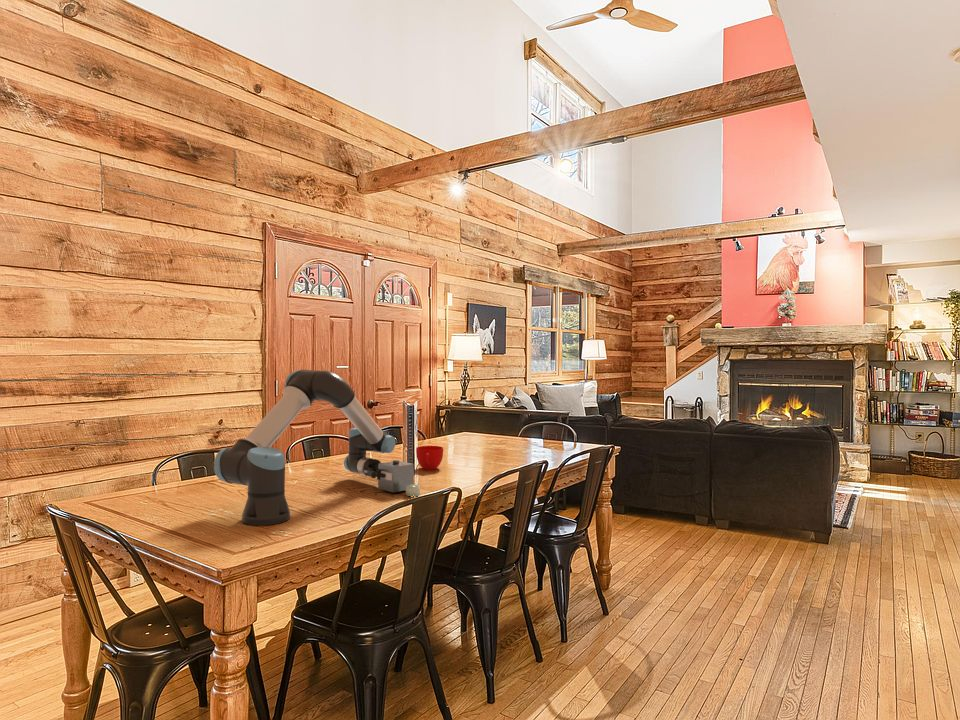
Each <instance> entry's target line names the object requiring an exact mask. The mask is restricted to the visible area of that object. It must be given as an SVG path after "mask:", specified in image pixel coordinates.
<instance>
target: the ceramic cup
mask: <svg viewBox="0 0 960 720" xmlns="http://www.w3.org/2000/svg"><path fill="white" fill-rule="evenodd" d="M415 451H416V458H417V462H418V465H419V466H420V467H421V468H422V470H425V471H434V470H436V469H438V467H439V466H440V465H441V463H442V462H443V461H442V460H443V456H444V447H443V446H441V445H440V446H439V445H420V446H417V447H416V450H415Z"/></svg>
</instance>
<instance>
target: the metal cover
mask: <svg viewBox="0 0 960 720" xmlns="http://www.w3.org/2000/svg"><path fill="white" fill-rule="evenodd" d="M414 467H415V466H414V463H410V462H406V461H401V460H397V459H395V460H391V461H388V462H381V463H379V464H378V470H379V471H380V473H381V471H384V472H388V473H392V480H391V481H390V480H386V479H383V478H381V477H380V480H377V482H378V483H377V488H378V490H379V489H380V490H383V491H387V492H389V493H398V492H402V491H406V485H414V477H413V470H414V469H415V468H414Z"/></svg>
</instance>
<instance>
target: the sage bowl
mask: <svg viewBox="0 0 960 720" xmlns="http://www.w3.org/2000/svg"><path fill="white" fill-rule="evenodd" d="M413 495H414V496H418V497H419V495H421V485H420V484H413V485H406V490H405V496H407V497H408V496H413Z"/></svg>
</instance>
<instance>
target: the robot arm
mask: <svg viewBox="0 0 960 720" xmlns="http://www.w3.org/2000/svg"><path fill="white" fill-rule="evenodd" d="M284 383H285V384H284V386H283V387H284V389H283V395H282V397H281V398H280V399H279V400H278V401H277V402H276V404H274V406H273V407H272V408H270V410H269V411H268V412H267V413H266V414H265V416H264V417H263V418H262V419H261V421H260V422H258V424H257V425H256V426H255V427H254V428H253V429H252V431H251V432H250V433H248V435H246V437H245V438H239V439H238V440H237V441H235V443H234V444H233V446H231V447H229V446H228V447H223V448H222V449H220V450H219V451H217V454H216V455H215V457H214V462H213V465H214V466H213V471H214V474H215V475H216V476H215V477H217V478H218V479H219V480H220V481H222V482H224V483H228V484H234V485H242V486H247V499H246V501H245V502H246V503H245V505H244V508H243V511H242V514H241V522H242V524H244V523H245V524H244V525H247V524H248V526H256V525H262V526H270V525H271V524H273V525H278V524H281V522H282V523H285V522H287V521H289V520H290V519H291V510H290V506H289V504H288V501H287V498H286V494H285V493H286V491H285V490H286V487H285V486H286V485H285V484H286V459H285V454H284V452H283V450H281V449H278V448H275V447H272V445H274V443H275V442H276V441H277V439H279V437H280V436H281V435H282V434H283V432H285V430H286V429H287V428H288V427H289V426H290V425H291V423H292V422H293V421H294V419H295V418H296V417H297V416H298V415H299V414H300V412H301V411H302V410H308V409H309V408H310V406H312V404H313V403H314V402H315V401H320V402H321V401H322V402H327V403H329V404H331V405H332V406H333V407H334V408H335V409H339V410H340V411H341V412H342V413H343V414H344V416H345V417H346V418H347V419H348V420H349V422H351V424H352V425H353V427H351V428H350V429H349V430H348V454H347V455H346V456H345V458H344V460H343V467H344V468H345V470H346V471H349V472H351V473H353V474H354V473H355V474H359V475H363V476H365V477H370V478H372V479H375V478H376V480H377V481H378V480H380V477H381V478H383V479H386V480H390V481H391V480H392V473H388V472H384V471H381V473H380V471H379V470H378V464H379V463H382V462H381V461H380V460H379V459H376V458H372V457H367V452H373V453H381V454H391V453H392V452H393V451H394V450H395V448H396V439H395V437H394V436H392V435H389V434H385V432H384V431H383V430H382V429H381V428H380V426H379V425H378V424H377V422H376V421H375V420H374V419H373V418H372V416H371V415H370V413H369V412H368V411H367V409H365V407H364V406H363V405H362V403H361V402H360V401H359V400H358V398H357V397H356V393H355V391H354V389H353V388H352V387H351V386H350V385H349V383H347V382H346V381H345V379H344V378H342V377H341V376H340V375H338V374H336V373H334V372H333V371H330V370H313V369H298V370H294V371H293V372H291V373H289V375H288V376H287V377H286V378H285V381H284ZM414 474H415V470H414V469H413V478H414V476H415V475H414ZM289 518H290V519H289ZM288 519H289V520H288ZM286 520H287V521H286ZM284 521H285V522H284ZM277 523H278V524H277ZM271 526H272V525H271Z"/></svg>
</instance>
